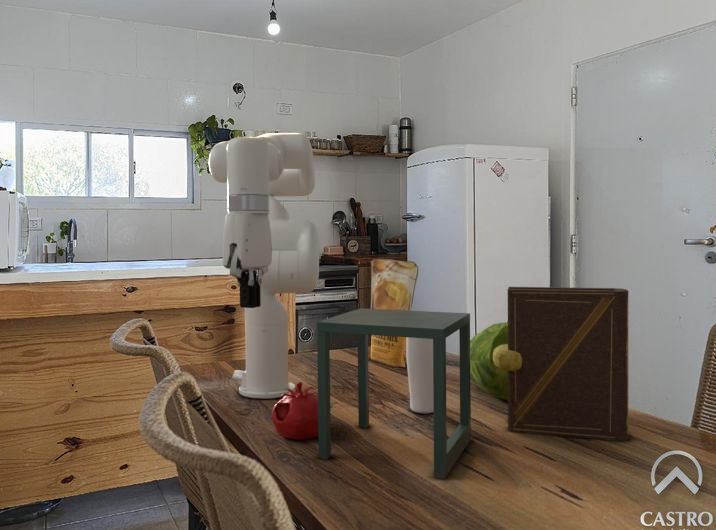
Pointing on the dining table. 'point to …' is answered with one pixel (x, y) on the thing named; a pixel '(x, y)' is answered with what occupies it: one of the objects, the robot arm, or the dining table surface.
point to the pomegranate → (297, 414)
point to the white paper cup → (420, 374)
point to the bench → (438, 330)
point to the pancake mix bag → (391, 304)
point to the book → (567, 361)
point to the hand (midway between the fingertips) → (250, 306)
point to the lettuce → (489, 360)
